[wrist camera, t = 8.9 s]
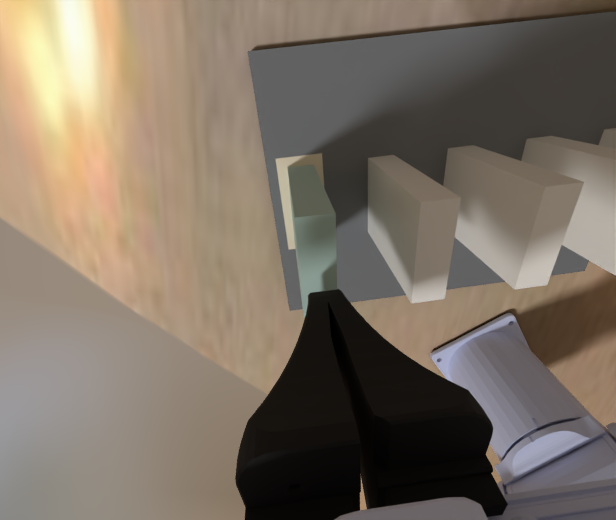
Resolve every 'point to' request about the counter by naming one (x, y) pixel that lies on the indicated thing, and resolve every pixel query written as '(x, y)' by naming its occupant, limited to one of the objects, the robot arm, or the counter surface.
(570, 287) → the counter surface
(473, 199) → the domino
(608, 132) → the domino
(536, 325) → the counter surface
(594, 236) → the domino
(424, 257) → the domino
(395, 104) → the mat
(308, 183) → the domino
